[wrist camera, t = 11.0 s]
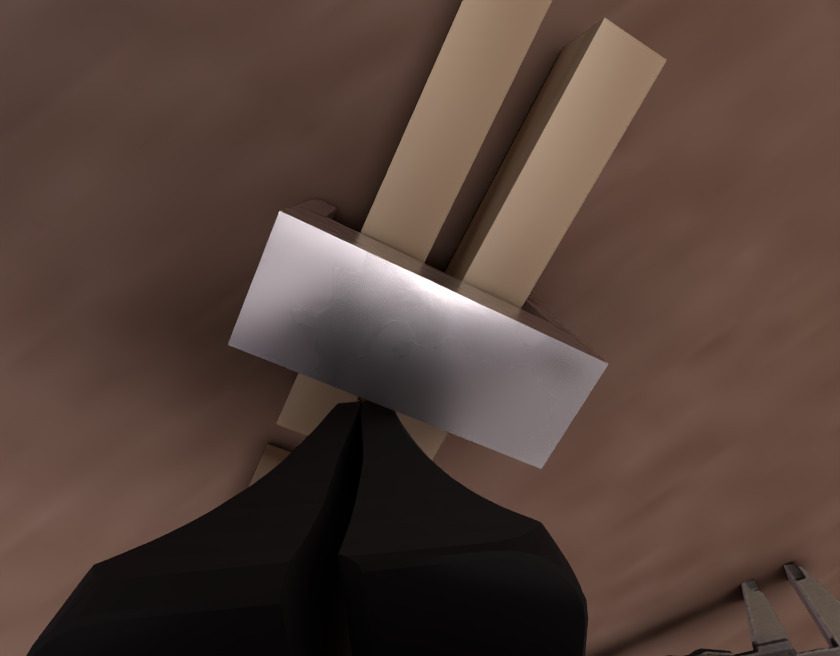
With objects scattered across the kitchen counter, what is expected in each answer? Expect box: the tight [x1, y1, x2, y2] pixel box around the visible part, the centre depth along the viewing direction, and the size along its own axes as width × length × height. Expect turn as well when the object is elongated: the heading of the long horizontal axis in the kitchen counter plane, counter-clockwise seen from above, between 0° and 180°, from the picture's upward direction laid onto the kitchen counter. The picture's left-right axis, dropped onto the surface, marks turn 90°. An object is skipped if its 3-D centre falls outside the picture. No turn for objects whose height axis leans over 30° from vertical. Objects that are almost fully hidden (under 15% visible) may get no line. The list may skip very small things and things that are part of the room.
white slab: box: [228, 199, 608, 469], centre depth 12 cm, size 7×3×5 cm, turn 64°
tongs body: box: [248, 0, 552, 487], centre depth 13 cm, size 4×18×2 cm, turn 154°
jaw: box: [395, 18, 667, 460], centre depth 13 cm, size 2×14×2 cm, turn 153°
